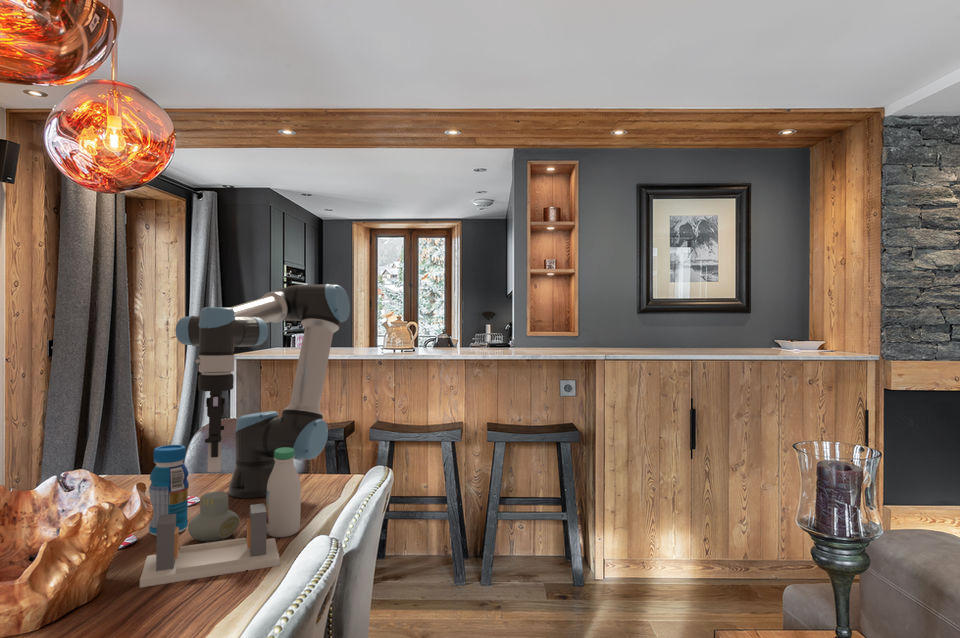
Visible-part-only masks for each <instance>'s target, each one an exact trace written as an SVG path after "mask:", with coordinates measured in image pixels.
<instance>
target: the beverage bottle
mask: <svg viewBox="0 0 960 638" xmlns="http://www.w3.org/2000/svg"><path fill="white" fill-rule="evenodd" d="M185 460H186V446H185V445H182V444H166V445H162V446H157V447H155V448H154V449H153V463H154V464H155V466H154V468H153V469H152V470H151V473H150V475H149V480H150V485H149V487H148V493H149V502H150V501H151V503H152V505H153V510H154V514H153V519H152V520H151V522H150V521H149V527H148V532H149V534H150V535H152V536H155V537H157V522H158V519H159V516H160V515H168V514H176V527H179V534H180V533H182V532H184V531H185V530H187V529H188V525H189V521H188V501H189V498H188V497H189V494H188V493H189V488H190V482H189V481H188V476H189V469H188V468H187V466H186V465H185V463H184V461H185Z"/></svg>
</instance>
